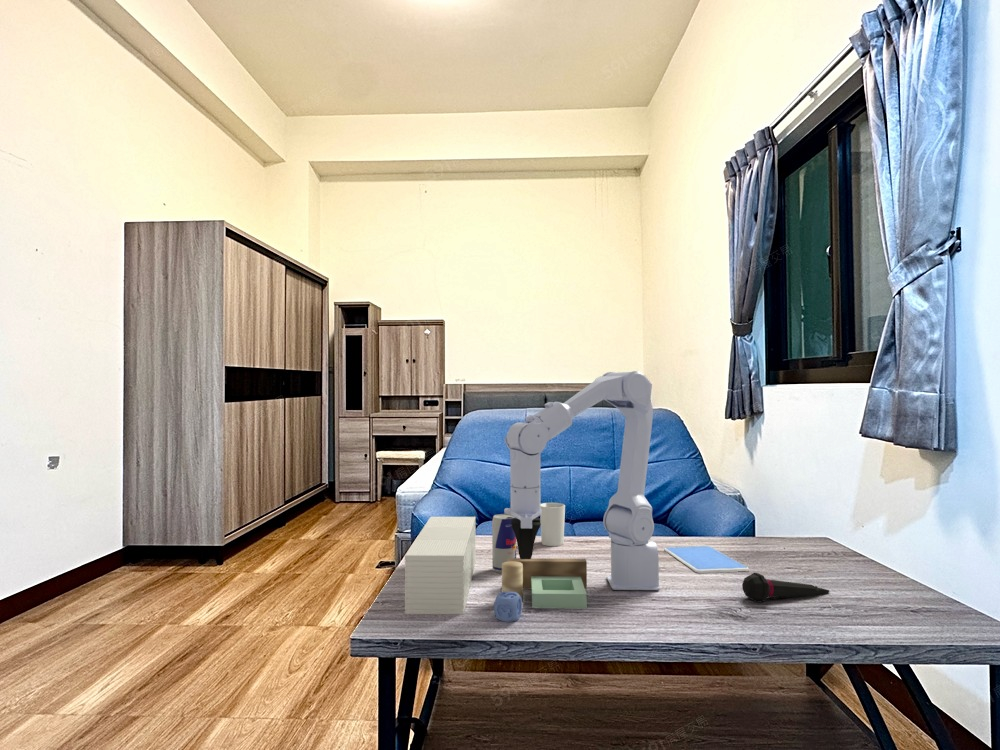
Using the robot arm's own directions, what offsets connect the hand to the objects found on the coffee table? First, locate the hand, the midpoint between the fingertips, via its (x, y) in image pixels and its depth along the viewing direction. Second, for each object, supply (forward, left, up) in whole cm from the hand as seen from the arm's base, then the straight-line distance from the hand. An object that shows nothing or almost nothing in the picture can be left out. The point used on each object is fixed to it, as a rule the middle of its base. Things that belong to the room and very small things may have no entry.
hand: (525, 558), depth 110 cm
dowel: (+2, -1, -9) cm, 9 cm away
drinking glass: (-8, -43, -9) cm, 45 cm away
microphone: (-51, -4, -9) cm, 52 cm away
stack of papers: (+17, -11, -9) cm, 22 cm away
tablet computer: (-43, -29, -9) cm, 53 cm away
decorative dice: (+3, +6, -9) cm, 11 cm away
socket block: (-6, -3, -9) cm, 11 cm away
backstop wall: (-5, -9, -9) cm, 13 cm away
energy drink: (+4, -20, -9) cm, 23 cm away
